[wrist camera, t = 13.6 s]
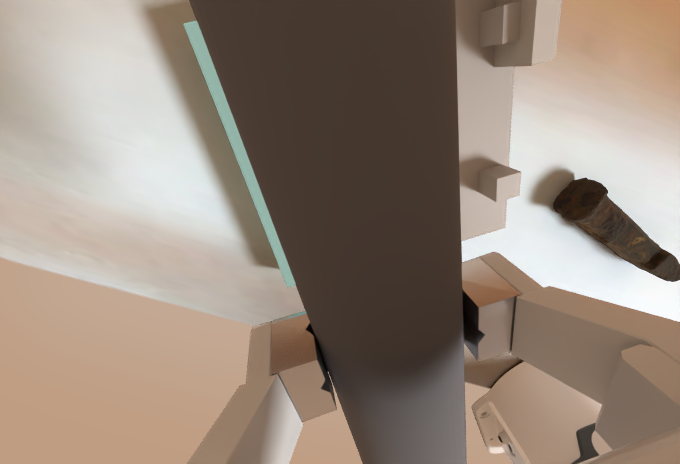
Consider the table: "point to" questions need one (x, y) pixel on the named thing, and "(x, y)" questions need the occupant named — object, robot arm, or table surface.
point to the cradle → (494, 98)
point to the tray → (237, 144)
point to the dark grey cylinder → (361, 197)
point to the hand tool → (614, 228)
